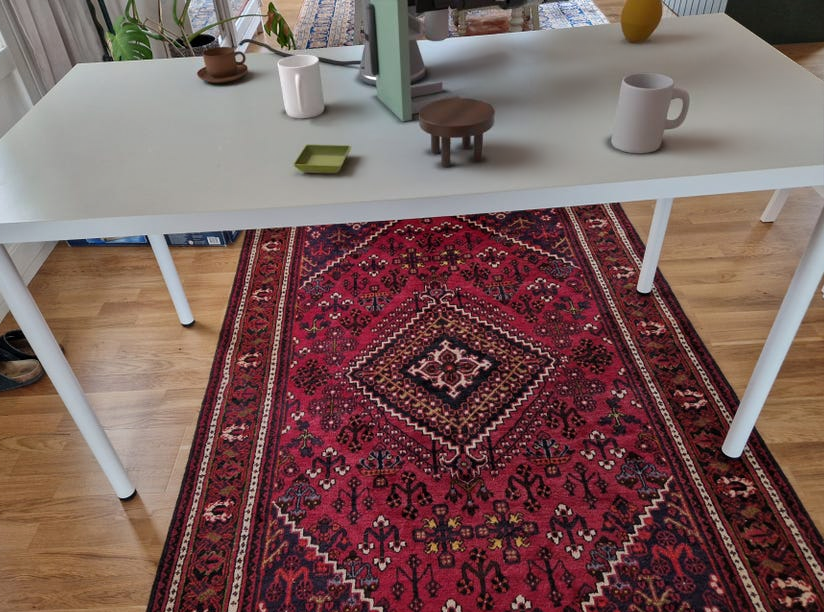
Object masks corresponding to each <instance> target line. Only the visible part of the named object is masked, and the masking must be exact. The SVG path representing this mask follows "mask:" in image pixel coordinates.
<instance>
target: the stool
mask: <svg viewBox="0 0 824 612" xmlns="http://www.w3.org/2000/svg"><path fill="white" fill-rule="evenodd" d="M495 110H496V109H495V108H494V107H493V105H491V104H490V103H488V102H487V101H483V100H480V99H474V98H466V97H460V98H451V99H443V100H438V101H435V102H431V103H429V104H427V105H425V106H423V107H422V108H421V109H420V111H419V113H418V124H419V125H418V126H419V128H420V129H421V131H423V132H424V133H426V134H429V135H430V153H431V154H433V155H436V154H440V162H441V163H440V166H441V167H442V168H449V167H451V140H452V139H461V148H462V149H465V150H467V149H470V148H471V147H472V144H471V143H472V137H473V147H472V149H473V150H472V153H473V154H472V160H473V162H475V163H476V162H477V163H479V162H482V161H483V151H484V150H483V149H484V148H483V147H484V133H486V132H488V131H490V130H491V129H492V128H493V127H494V125H495V115H496V111H495Z"/></svg>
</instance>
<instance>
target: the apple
mask: <svg viewBox="0 0 824 612" xmlns="http://www.w3.org/2000/svg"><path fill="white" fill-rule="evenodd" d="M663 7H664V5H663V1H662V0H626V1H625V3H624V5H623V7H622V9H621V14H620V26H621V32H622V34H623V37H624V38H625V40H626V41H627V42H628V43H638V42H639V43H640V42H645V41H646V40H647V39H649V38H650V37H651V35H653V33H654V32H655V31H656V29H657V28H658V27H659V24H660V23H661V21H662V17H663V9H664V8H663Z"/></svg>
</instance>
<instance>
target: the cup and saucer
mask: <svg viewBox="0 0 824 612" xmlns="http://www.w3.org/2000/svg"><path fill="white" fill-rule="evenodd" d="M237 55H241V57H242V60H241V61H237V59H236V57H237ZM202 57H203V62H204V67H202V68H200V69H199V70H198V71H197V72H196V75H197V77H198V78H199V79H200V80H201V81H204V82H207V83H214V84H217V83H218V84H220V83H221V84H222V83H228V82H233V81H236V80H238V79H240V78H243V77H244V76H245V75H246V74H247V72H248V65H246V64H245V63H246V58H247V57H246V54H245V53H244V52H243V51H242V50H241V51H239V50H238V51H235V49H234V48H233V47H231V46H216V47H211V48H207V49H205V50H204V51H203V52H202Z"/></svg>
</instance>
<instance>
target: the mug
mask: <svg viewBox="0 0 824 612" xmlns="http://www.w3.org/2000/svg"><path fill="white" fill-rule="evenodd" d="M674 85H675V81H674V79H672V78H671V77H669V76H667V75H664V74H660V73H655V72H654V73H653V72H637V73H632V74H627V75H626V76H624V77H623V78H622V81H621V84H620V90H619V96H618V102H617V107H616V113H615V118H614V119H615V120H614V125H613V128H612V129H613V130H612V134H611V141H610V142H611V144H612V146H613V147H614V148H615V149H617V150H619V151H621V152H625V153H630V154H648V153H653V152H655V151H657V150H658V149H659V148H661V146H662V141H663V136H664V132H665V131H669V130H673V129H677V128H679V127H680V126H682V124H683V123H684V122H685V120H686V117H687V116H688V111H689V109H690V93H688V91H687V90H685V89H683V88H676V87H675V86H674ZM676 99H680V100H681V101H682V108H681V111H680V113H679V115H678V117H676V118H675V119H667V118H668V114H669V109H670V106H671V102H672V100H676Z"/></svg>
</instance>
